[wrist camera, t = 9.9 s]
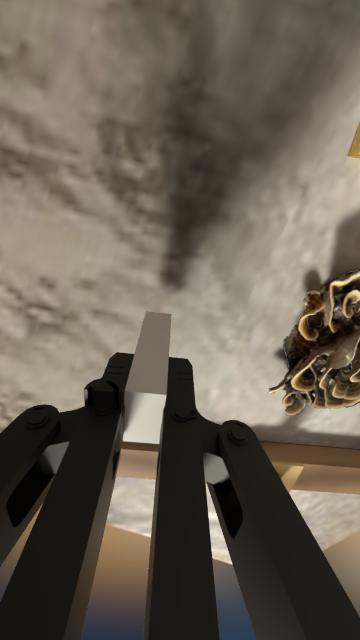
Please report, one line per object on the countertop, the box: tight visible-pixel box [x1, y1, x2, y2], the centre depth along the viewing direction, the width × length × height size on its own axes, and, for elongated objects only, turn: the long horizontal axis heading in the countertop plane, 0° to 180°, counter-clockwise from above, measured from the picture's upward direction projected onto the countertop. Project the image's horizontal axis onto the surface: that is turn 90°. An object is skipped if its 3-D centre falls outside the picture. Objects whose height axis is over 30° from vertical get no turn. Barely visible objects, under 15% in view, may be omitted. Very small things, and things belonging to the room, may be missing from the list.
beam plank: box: [116, 439, 360, 494], centre depth 22 cm, size 4×30×7 cm, turn 82°
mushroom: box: [269, 269, 360, 415], centre depth 17 cm, size 12×8×4 cm, turn 169°
